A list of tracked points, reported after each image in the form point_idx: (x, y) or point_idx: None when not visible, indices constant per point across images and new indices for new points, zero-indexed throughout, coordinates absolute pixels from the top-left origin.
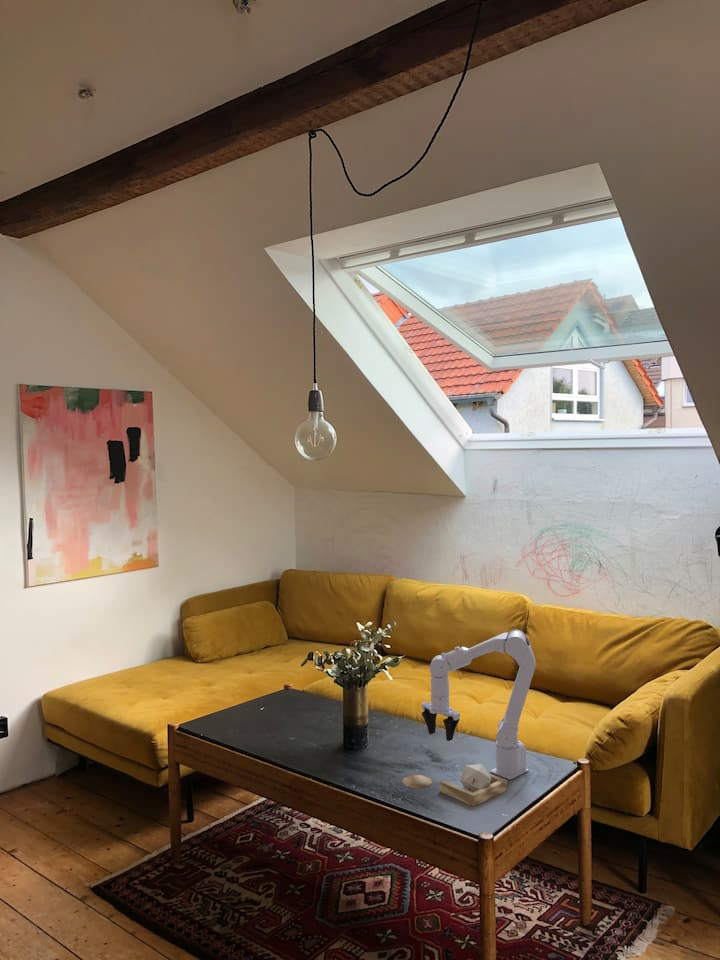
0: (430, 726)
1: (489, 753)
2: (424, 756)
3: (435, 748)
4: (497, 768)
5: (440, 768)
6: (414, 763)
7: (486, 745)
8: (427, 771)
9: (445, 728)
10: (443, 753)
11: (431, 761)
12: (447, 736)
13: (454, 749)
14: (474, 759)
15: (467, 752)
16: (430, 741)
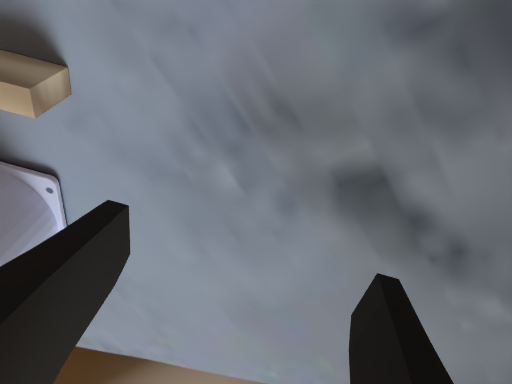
0: (389, 368)
1: (190, 316)
2: (453, 203)
3: (425, 297)
4: (4, 190)
5: (283, 100)
6: (491, 83)
7: (240, 359)
8: (339, 6)
9: (11, 314)
10: (362, 266)
11: (382, 162)
12: (71, 226)
13: (332, 310)
14: (201, 259)
15: (266, 302)
16: (479, 345)
